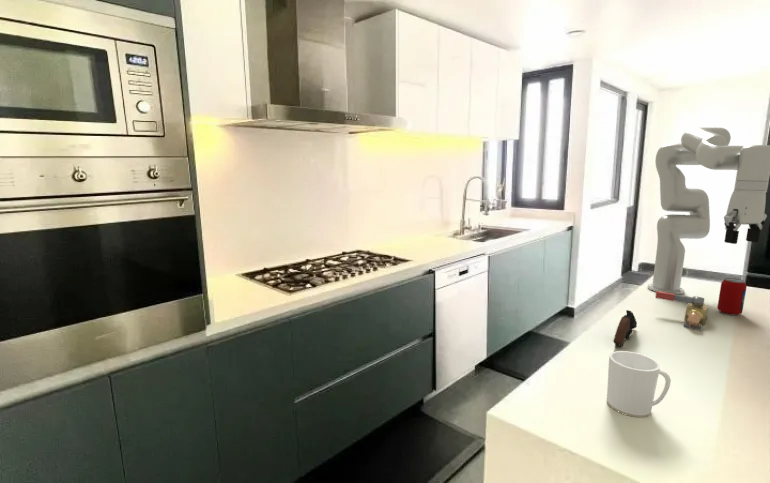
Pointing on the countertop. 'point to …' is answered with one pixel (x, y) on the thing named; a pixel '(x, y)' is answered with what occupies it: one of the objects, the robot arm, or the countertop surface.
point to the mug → (634, 383)
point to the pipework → (695, 316)
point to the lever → (681, 298)
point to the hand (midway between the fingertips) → (741, 242)
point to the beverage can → (732, 296)
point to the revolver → (625, 328)
